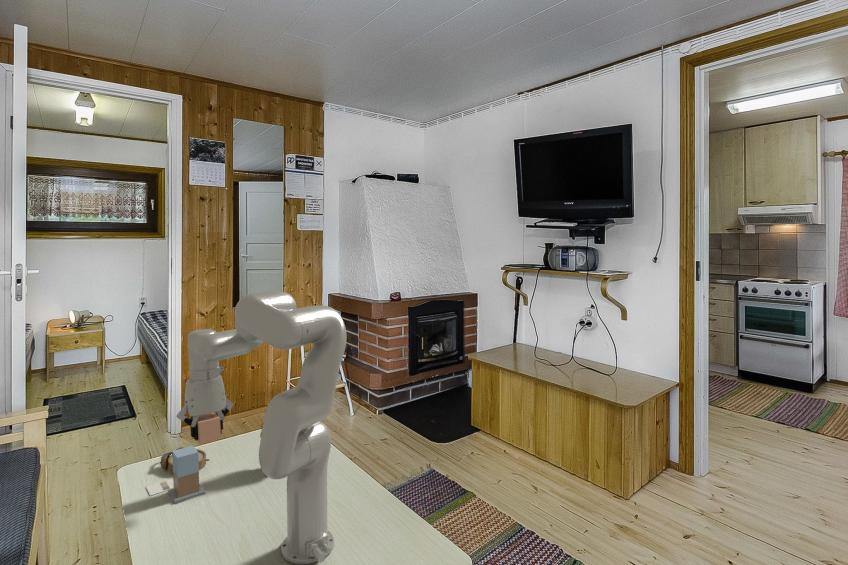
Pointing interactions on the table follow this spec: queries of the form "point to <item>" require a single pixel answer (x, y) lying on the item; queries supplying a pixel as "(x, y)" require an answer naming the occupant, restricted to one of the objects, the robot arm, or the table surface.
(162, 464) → the alarm clock
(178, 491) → the base
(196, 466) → the blue block
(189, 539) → the table surface
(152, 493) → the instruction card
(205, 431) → the terracotta block
